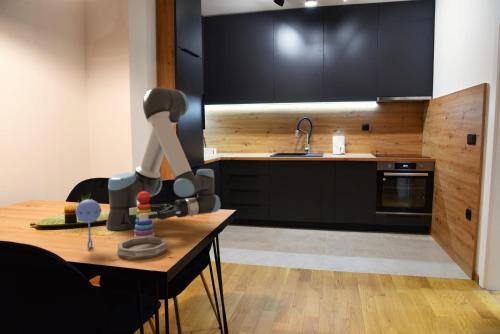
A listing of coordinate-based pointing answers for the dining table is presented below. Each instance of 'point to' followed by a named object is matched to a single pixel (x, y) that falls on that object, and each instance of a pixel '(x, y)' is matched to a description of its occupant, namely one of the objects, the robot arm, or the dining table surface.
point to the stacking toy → (142, 226)
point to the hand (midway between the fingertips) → (134, 214)
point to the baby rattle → (88, 214)
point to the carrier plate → (142, 248)
